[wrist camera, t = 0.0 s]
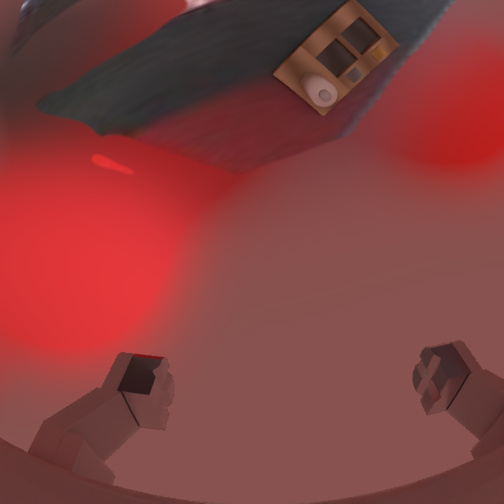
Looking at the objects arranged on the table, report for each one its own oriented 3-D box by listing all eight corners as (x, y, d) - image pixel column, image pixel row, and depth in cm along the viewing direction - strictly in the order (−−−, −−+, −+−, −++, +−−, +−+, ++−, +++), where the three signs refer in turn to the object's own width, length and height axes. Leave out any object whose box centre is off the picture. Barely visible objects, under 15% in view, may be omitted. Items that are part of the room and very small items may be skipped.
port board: (348, -2, 35) (353, -3, 33) (393, 44, 40) (400, 45, 38) (272, 72, 46) (273, 75, 44) (320, 112, 51) (323, 117, 49)
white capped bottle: (297, 75, 44) (308, 87, 36) (319, 69, 43) (335, 80, 35) (305, 95, 47) (316, 112, 38) (326, 89, 46) (343, 105, 37)
